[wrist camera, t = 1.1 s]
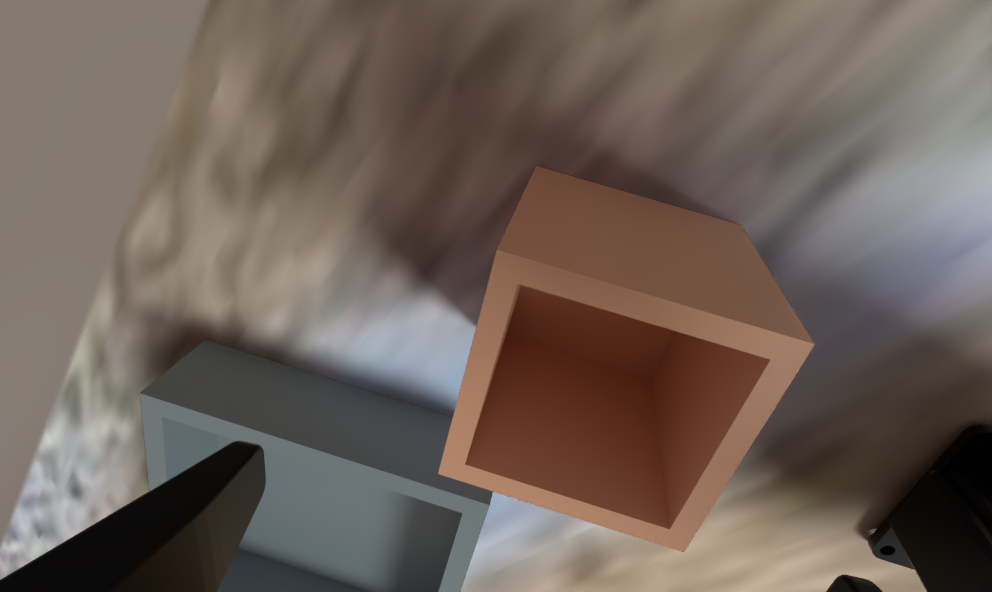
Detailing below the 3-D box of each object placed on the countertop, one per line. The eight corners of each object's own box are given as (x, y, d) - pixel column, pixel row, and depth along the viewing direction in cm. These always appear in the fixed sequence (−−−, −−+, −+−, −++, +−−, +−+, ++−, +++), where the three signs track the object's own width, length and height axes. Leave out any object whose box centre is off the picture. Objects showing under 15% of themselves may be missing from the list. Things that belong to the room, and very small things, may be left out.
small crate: (740, 224, 17) (815, 344, 11) (660, 387, 20) (684, 552, 14) (536, 165, 17) (496, 249, 11) (489, 334, 20) (438, 473, 14)
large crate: (507, 428, 23) (489, 505, 19) (447, 611, 29) (425, 694, 25) (210, 335, 23) (139, 393, 20) (214, 534, 29) (161, 604, 26)
